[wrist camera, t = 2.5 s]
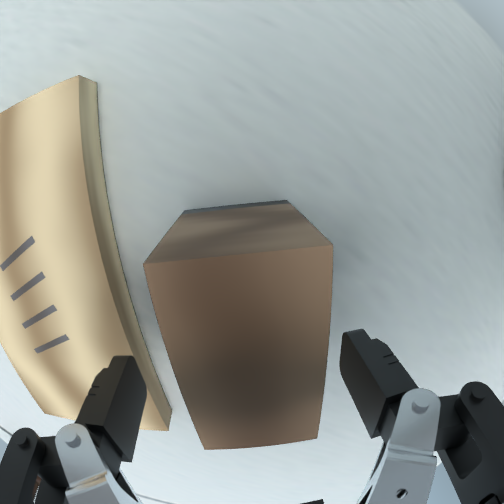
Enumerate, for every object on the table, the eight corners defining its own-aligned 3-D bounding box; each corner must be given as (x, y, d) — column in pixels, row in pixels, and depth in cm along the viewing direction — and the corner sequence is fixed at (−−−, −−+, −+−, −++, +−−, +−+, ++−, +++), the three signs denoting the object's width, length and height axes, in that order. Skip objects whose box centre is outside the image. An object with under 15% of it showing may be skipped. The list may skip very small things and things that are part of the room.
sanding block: (286, 199, 14) (332, 244, 7) (291, 346, 17) (317, 438, 10) (184, 210, 14) (142, 264, 7) (211, 355, 17) (204, 449, 10)
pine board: (96, 82, 11) (78, 74, 9) (172, 410, 18) (168, 431, 17) (-32, 145, 11) (-51, 148, 9) (52, 398, 18) (44, 413, 16)
